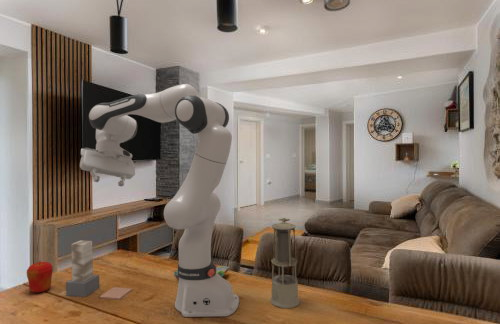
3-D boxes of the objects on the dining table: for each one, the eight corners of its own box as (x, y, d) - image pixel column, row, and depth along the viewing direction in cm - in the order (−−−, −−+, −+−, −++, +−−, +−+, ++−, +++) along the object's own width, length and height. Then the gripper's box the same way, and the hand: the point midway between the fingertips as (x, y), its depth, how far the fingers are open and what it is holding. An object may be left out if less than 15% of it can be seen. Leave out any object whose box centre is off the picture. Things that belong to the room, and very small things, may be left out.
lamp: (268, 307, 108) (268, 220, 107) (272, 290, 121) (272, 213, 120) (299, 309, 106) (299, 221, 105) (299, 292, 119) (299, 213, 118)
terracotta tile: (131, 290, 122) (131, 288, 122) (119, 299, 114) (119, 298, 114) (113, 288, 123) (113, 287, 123) (99, 298, 116) (99, 296, 116)
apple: (23, 291, 122) (22, 261, 121) (48, 284, 128) (47, 255, 128) (32, 297, 116) (31, 266, 116) (57, 289, 123) (56, 259, 123)
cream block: (93, 276, 123) (92, 240, 123) (84, 281, 118) (83, 244, 118) (81, 275, 124) (80, 240, 123) (72, 280, 119) (71, 244, 119)
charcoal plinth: (99, 287, 125) (99, 275, 124) (85, 296, 117) (85, 283, 116) (81, 286, 126) (80, 273, 126) (66, 295, 118) (65, 282, 118)
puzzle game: (187, 260, 142) (229, 265, 136) (187, 270, 142) (229, 275, 136) (174, 269, 131) (218, 275, 125) (174, 280, 131) (218, 287, 125)
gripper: (84, 141, 116) (84, 173, 109) (135, 155, 130) (138, 184, 124) (77, 150, 119) (76, 182, 112) (127, 162, 134) (130, 191, 127)
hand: (109, 183), depth 118 cm, fingers open, 8 cm apart
